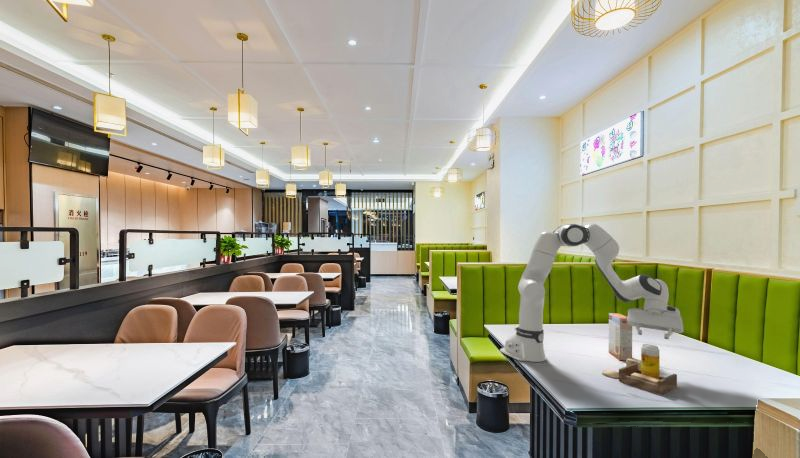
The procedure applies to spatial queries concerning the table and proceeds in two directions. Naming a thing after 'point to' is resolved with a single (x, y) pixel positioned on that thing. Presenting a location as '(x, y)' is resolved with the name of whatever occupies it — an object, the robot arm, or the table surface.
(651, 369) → the beer glass
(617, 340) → the cracker box
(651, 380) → the offcut bottom
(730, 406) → the table surface
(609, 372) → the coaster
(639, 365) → the offcut top
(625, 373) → the rack
